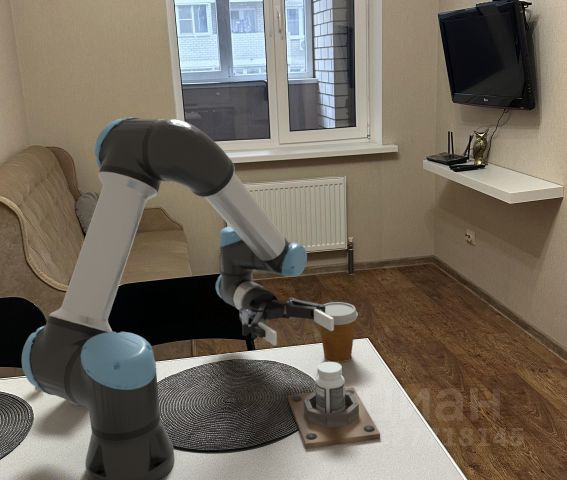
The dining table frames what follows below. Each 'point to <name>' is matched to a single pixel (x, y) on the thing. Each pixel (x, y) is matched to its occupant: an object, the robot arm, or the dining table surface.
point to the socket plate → (332, 421)
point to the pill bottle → (330, 388)
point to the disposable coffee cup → (339, 332)
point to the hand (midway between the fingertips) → (304, 331)
